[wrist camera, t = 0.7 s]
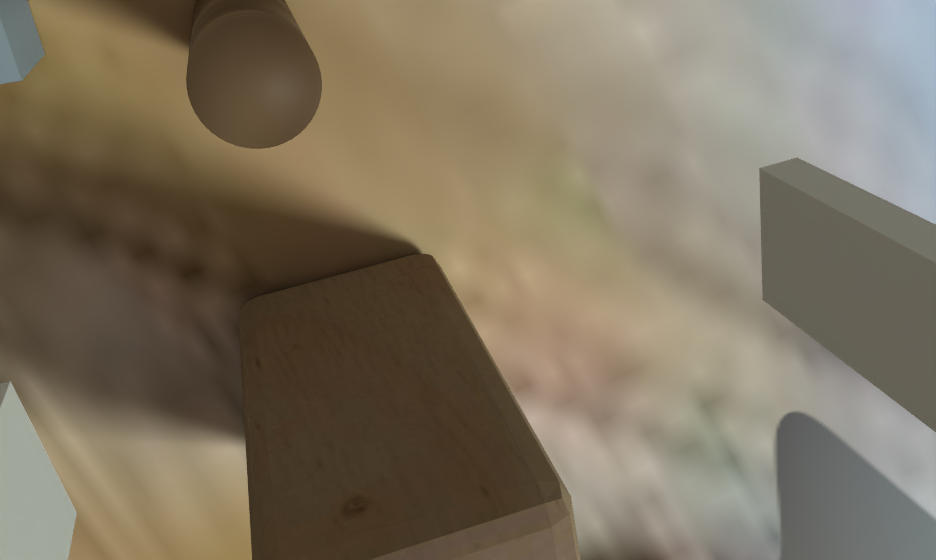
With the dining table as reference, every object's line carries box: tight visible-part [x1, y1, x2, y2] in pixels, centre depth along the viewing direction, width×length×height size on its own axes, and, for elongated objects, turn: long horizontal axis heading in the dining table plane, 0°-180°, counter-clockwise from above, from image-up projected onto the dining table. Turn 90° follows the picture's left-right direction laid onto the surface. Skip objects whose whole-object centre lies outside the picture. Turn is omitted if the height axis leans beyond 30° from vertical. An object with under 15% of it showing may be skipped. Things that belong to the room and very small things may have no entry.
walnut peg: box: [186, 0, 322, 149], centre depth 32 cm, size 4×4×12 cm
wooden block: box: [239, 254, 580, 560], centre depth 37 cm, size 10×10×20 cm
